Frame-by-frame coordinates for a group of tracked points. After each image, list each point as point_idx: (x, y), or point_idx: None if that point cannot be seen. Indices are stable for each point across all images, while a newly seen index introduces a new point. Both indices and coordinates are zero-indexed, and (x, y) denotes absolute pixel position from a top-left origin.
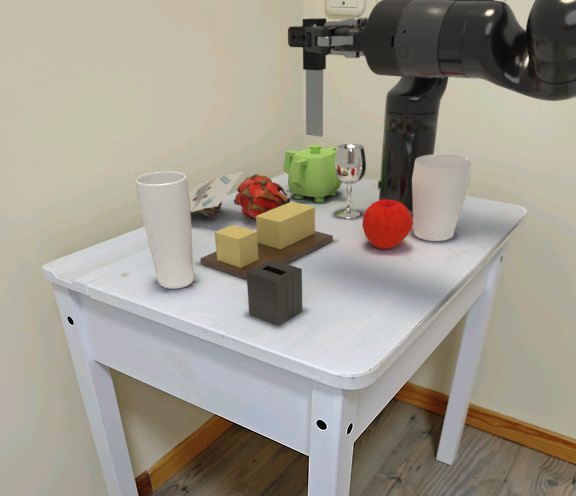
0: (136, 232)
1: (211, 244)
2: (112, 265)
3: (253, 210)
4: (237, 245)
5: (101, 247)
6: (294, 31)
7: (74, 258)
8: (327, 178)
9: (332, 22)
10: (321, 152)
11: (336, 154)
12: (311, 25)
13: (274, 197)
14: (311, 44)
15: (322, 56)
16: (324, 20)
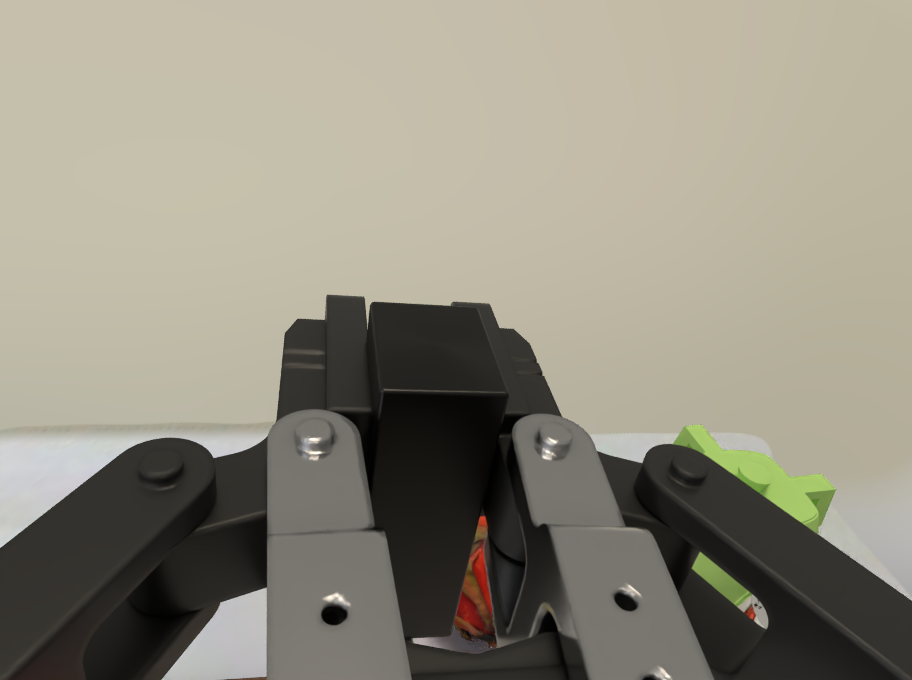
0: (216, 443)
1: (251, 612)
2: (4, 535)
3: None
4: None
5: (100, 450)
6: (284, 353)
7: (14, 454)
8: (732, 582)
9: (267, 613)
10: (766, 495)
11: (738, 604)
12: (178, 465)
13: (479, 597)
14: (133, 601)
15: (420, 585)
16: (478, 405)
